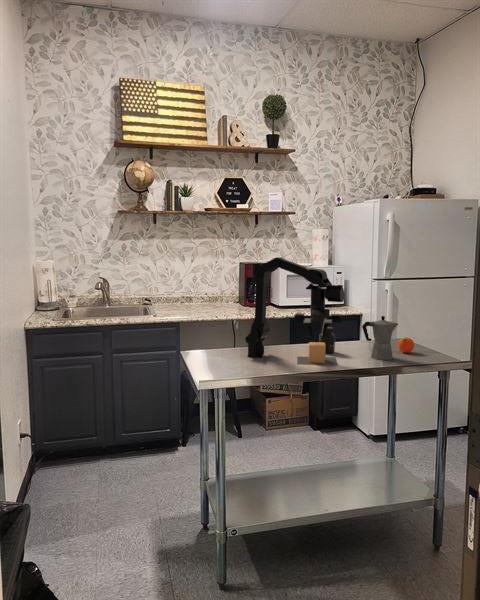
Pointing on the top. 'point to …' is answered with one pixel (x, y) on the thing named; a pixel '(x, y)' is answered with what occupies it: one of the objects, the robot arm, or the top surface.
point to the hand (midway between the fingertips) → (317, 339)
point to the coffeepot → (381, 338)
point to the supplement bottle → (328, 340)
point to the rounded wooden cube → (317, 352)
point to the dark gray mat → (306, 362)
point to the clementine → (406, 345)
